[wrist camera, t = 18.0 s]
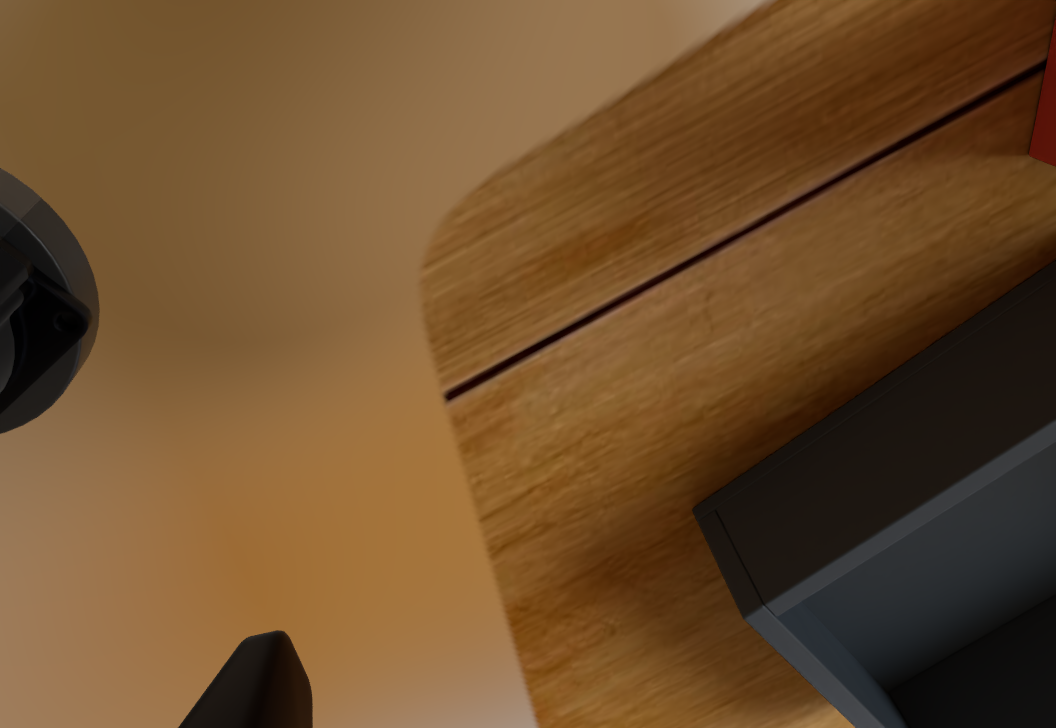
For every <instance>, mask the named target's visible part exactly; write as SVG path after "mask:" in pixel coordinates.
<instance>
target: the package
mask: <svg viewBox="0 0 1056 728" xmlns="http://www.w3.org/2000/svg"><path fill="white" fill-rule="evenodd" d="M1029 156H1030V157H1033V158H1035V159H1038V160H1040V161H1043V162H1046V163H1048V164H1051V165H1053V166H1056V18H1055V23H1054V28H1053V33H1052V39H1051V44H1050V49H1049V54H1048V59H1047V64H1046V69H1045V74H1044V80H1043V85H1042V90H1041V95H1040V100H1039V105H1038V110H1037V116H1036V121H1035V126H1034V131H1033V136H1032V141H1031V146H1030V151H1029Z"/></svg>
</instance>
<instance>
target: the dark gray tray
mask: <svg viewBox="0 0 1056 728" xmlns="http://www.w3.org/2000/svg"><path fill="white" fill-rule="evenodd" d="M692 511H693V514H694V516H695V518H696V520H697V522H698V524H699V526H700V528H701V530H702V533H703V535H704V537H705V539H706V541H707V543H708V545H709V547H710V550H711V552H712V554H713V556H714V558H715V560H716V562H717V564H718V567H719V569H720V571H721V573H722V575H723V577H724V579H725V581H726V584H727V586H728V588H729V590H730V592H731V594H732V596H733V598H734V600H735V603H736V605H737V607H738V609H739V611H740V613H741V615H742V617H743V619H744V620H745V621H746V622H747V623H748V624H749V625H750V626H751V627H752V628H753V629H754V630H756V631H757V632H758V633H759V634H760V635H761V636H762V637H763V638H764V639H765V640H766V641H767V642H768V643H769V644H770V645H771V646H772V647H773V648H774V649H775V650H776V651H777V652H778V653H779V654H780V655H781V656H782V657H783V658H784V659H785V660H786V661H787V662H789V663H790V664H791V665H792V666H793V667H794V668H795V669H796V670H797V671H798V672H799V673H800V674H801V675H802V676H803V677H804V678H805V679H806V680H807V681H808V682H809V683H810V684H811V685H812V686H813V687H814V688H815V689H816V690H817V691H818V692H819V693H820V694H822V695H823V696H824V697H825V698H826V699H827V700H828V701H829V702H830V703H831V704H832V705H833V706H834V707H835V708H836V709H837V710H838V711H839V712H840V713H841V714H842V715H843V716H844V717H845V718H846V719H847V720H848V721H849V722H850V723H851V724H852V725H853V726H855V727H856V728H1056V260H1055V261H1054V262H1053V263H1051V264H1050V265H1048V266H1047V267H1045V268H1044V269H1042V270H1041V271H1039V272H1038V273H1036V274H1035V275H1034V276H1032V277H1031V278H1029V279H1028V280H1026V281H1025V282H1023V283H1022V284H1020V285H1019V286H1017V287H1016V288H1015V289H1013V290H1012V291H1010V292H1009V293H1007V294H1006V295H1004V296H1003V297H1001V298H1000V299H998V300H997V301H996V302H994V303H993V304H991V305H990V306H988V307H987V308H985V309H984V310H982V311H981V312H979V313H978V314H977V315H975V316H974V317H972V318H971V319H969V320H968V321H966V322H965V323H963V324H962V325H960V326H959V327H958V328H956V329H955V330H953V331H952V332H950V333H949V334H947V335H946V336H944V337H943V338H941V339H940V340H939V341H937V342H936V343H934V344H933V345H931V346H930V347H928V348H927V349H925V350H924V351H922V352H921V353H920V354H918V355H917V356H915V357H914V358H912V359H911V360H909V361H908V362H906V363H905V364H903V365H902V366H901V367H899V368H898V369H896V370H895V371H893V372H892V373H890V374H889V375H887V376H886V377H885V378H883V379H882V380H880V381H879V382H877V383H876V384H874V385H873V386H871V387H870V388H868V389H867V390H866V391H864V392H863V393H861V394H860V395H858V396H857V397H855V398H854V399H852V400H851V401H849V402H848V403H847V404H845V405H844V406H842V407H841V408H839V409H838V410H836V411H835V412H833V413H832V414H830V415H829V416H828V417H826V418H825V419H823V420H822V421H820V422H819V423H817V424H816V425H814V426H813V427H811V428H810V429H809V430H807V431H806V432H804V433H803V434H801V435H800V436H798V437H797V438H795V439H794V440H792V441H791V442H790V443H788V444H787V445H785V446H784V447H782V448H781V449H779V450H778V451H776V452H775V453H773V454H772V455H771V456H769V457H768V458H766V459H765V460H763V461H762V462H760V463H759V464H757V465H756V466H754V467H753V468H752V469H750V470H749V471H747V472H746V473H744V474H743V475H741V476H740V477H738V478H737V479H735V480H734V481H733V482H731V483H730V484H728V485H727V486H725V487H724V488H722V489H721V490H719V491H718V492H716V493H715V494H714V495H712V496H711V497H709V498H708V499H706V500H705V501H703V502H702V503H700V504H699V505H697V506H696V507H695V508H693V509H692Z"/></svg>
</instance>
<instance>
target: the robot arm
mask: <svg viewBox="0 0 1056 728" xmlns="http://www.w3.org/2000/svg"><path fill="white" fill-rule="evenodd" d="M62 314H68V315H70V316H72V317H74V318H75V319H76V321H77V324H78V325H71V324H69V323H66V322H65V321H64V319H63V318H62ZM92 324H93V316H92V313H91V311H90V309H89V308H88V307H87V306H86V305H85V304H84V303H82V302H81V301H80V300H78V299H77V298H76V297H74V296H73V295H72V294H70V293H69V292H68V291H66V290H65V289H64V288H62V287H61V286H60V285H59V284H57V283H56V282H55V281H53V280H52V279H51V278H49V277H48V276H47V275H45V274H44V273H43V272H41V271H40V270H39V269H37V268H36V267H35V266H34V265H33V264H32V261H31V259H30V258H29V257H28V256H26V255H25V254H24V253H22V252H21V251H20V250H18V249H17V248H16V247H14V246H13V245H12V244H11V243H9V242H8V241H7V240H5V239H4V238H3V237H1V236H0V414H1V413H2V412H3V411H4V410H6V409H7V408H8V407H9V406H10V405H11V404H12V403H13V402H14V401H15V400H16V399H17V398H18V397H19V396H20V395H21V394H23V393H24V392H25V391H26V390H27V389H28V388H29V387H30V386H31V385H32V384H33V383H34V382H35V381H36V380H37V379H38V378H40V377H41V376H42V375H43V374H44V373H45V372H46V371H47V370H48V369H49V368H50V367H51V366H52V365H53V364H54V363H55V362H57V361H58V360H59V359H60V358H61V357H62V356H63V355H64V354H65V353H66V352H67V351H68V350H69V349H70V348H71V347H72V346H74V345H75V344H76V343H77V342H78V341H79V340H80V339H81V338H82V337H83V336H84V335H85V334H86V332H87V331H88V330H89V328H90V327H91V325H92ZM312 719H313V717H312V692H311V686H310V682H309V679H308V677H307V674H306V672H305V670H304V668H303V666H302V663H301V661H300V659H299V657H298V655H297V652H296V650H295V648H294V646H293V644H292V642H291V639H290V638H289V636H288V635H287V634H286V633H285V632H284V631H273V632H268V633H263V634H259V635H255V636H250V637H248V638H246V639H245V640H243V641H242V642H241V643H240V645H239V646H238V647H237V648H236V650H235V651H234V652H233V654H232V655H231V657H230V658H229V659H228V661H227V662H226V663H225V665H224V666H223V667H222V669H221V670H220V672H219V673H218V674H217V676H216V677H215V678H214V680H213V681H212V683H211V684H210V685H209V687H208V688H207V689H206V691H205V692H204V693H203V695H202V696H201V698H200V699H199V700H198V701H197V703H196V704H195V706H194V707H193V708H192V710H191V711H190V712H189V714H188V715H187V716H186V718H185V719H184V721H183V722H182V723H181V725H180V726H179V727H178V728H312V727H313V725H312V724H313V723H312Z"/></svg>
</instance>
